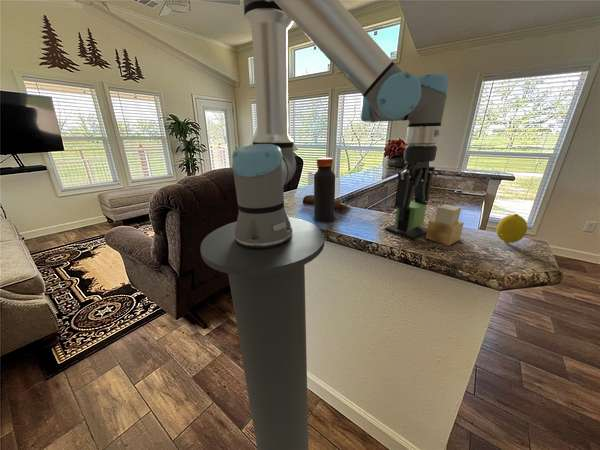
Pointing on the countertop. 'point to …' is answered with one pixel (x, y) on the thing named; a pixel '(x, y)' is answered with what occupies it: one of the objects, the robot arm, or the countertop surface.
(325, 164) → the bottle
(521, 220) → the lemon
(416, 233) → the coaster
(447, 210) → the cream block
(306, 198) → the sunglasses case
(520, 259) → the countertop surface
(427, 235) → the maple block
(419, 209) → the green block
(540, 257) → the countertop surface
